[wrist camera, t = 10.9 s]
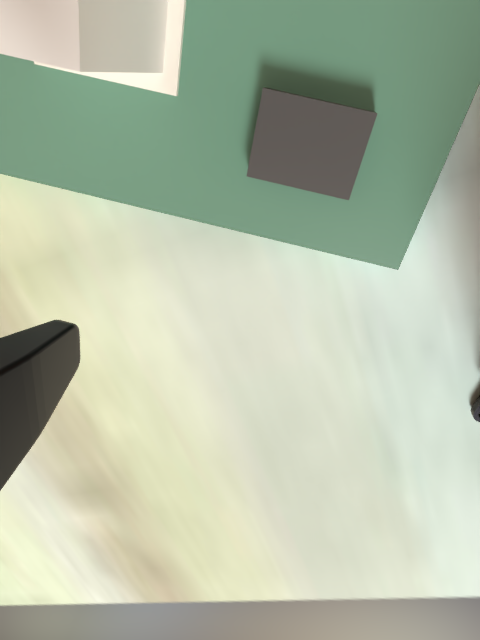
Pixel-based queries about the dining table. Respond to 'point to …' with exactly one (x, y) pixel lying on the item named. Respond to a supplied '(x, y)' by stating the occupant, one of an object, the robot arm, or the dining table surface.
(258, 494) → the dining table surface
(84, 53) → the block
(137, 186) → the board
